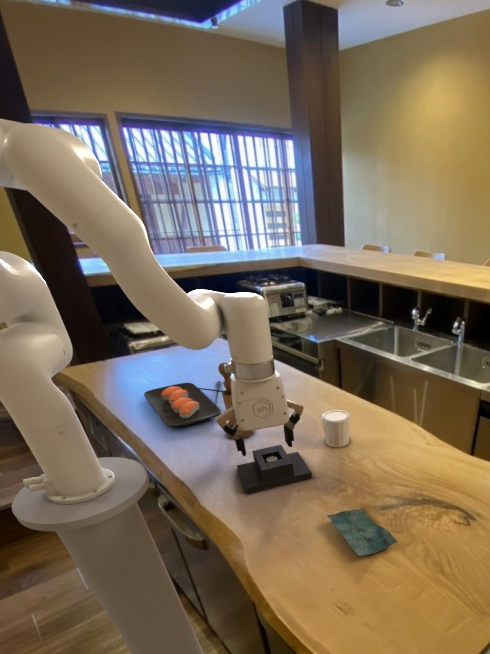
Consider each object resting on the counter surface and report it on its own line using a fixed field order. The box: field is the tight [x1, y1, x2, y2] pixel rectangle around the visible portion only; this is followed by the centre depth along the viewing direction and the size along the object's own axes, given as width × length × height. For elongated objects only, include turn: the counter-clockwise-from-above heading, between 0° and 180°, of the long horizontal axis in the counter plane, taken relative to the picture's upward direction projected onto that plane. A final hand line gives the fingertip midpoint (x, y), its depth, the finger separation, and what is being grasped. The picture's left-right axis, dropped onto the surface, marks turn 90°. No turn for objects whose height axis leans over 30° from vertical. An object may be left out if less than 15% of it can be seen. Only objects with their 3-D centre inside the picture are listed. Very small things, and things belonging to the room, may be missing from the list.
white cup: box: [321, 409, 351, 448], centre depth 103 cm, size 7×7×7 cm
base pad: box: [236, 451, 313, 495], centre depth 92 cm, size 14×10×4 cm
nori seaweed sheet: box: [326, 508, 399, 557], centre depth 77 cm, size 13×8×2 cm, turn 32°
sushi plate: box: [143, 380, 224, 428], centre depth 123 cm, size 29×30×4 cm
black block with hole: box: [251, 444, 294, 482], centre depth 92 cm, size 6×9×3 cm
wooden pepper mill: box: [217, 362, 254, 440], centre depth 103 cm, size 7×6×18 cm
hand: (266, 448), depth 89 cm, fingers open, 9 cm apart
